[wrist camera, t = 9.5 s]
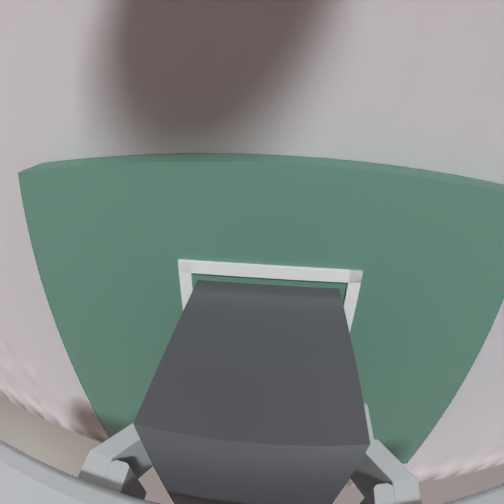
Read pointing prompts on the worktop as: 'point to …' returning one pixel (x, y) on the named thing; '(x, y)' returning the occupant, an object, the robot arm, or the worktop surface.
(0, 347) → the worktop surface
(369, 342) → the board
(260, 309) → the block
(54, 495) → the robot arm
